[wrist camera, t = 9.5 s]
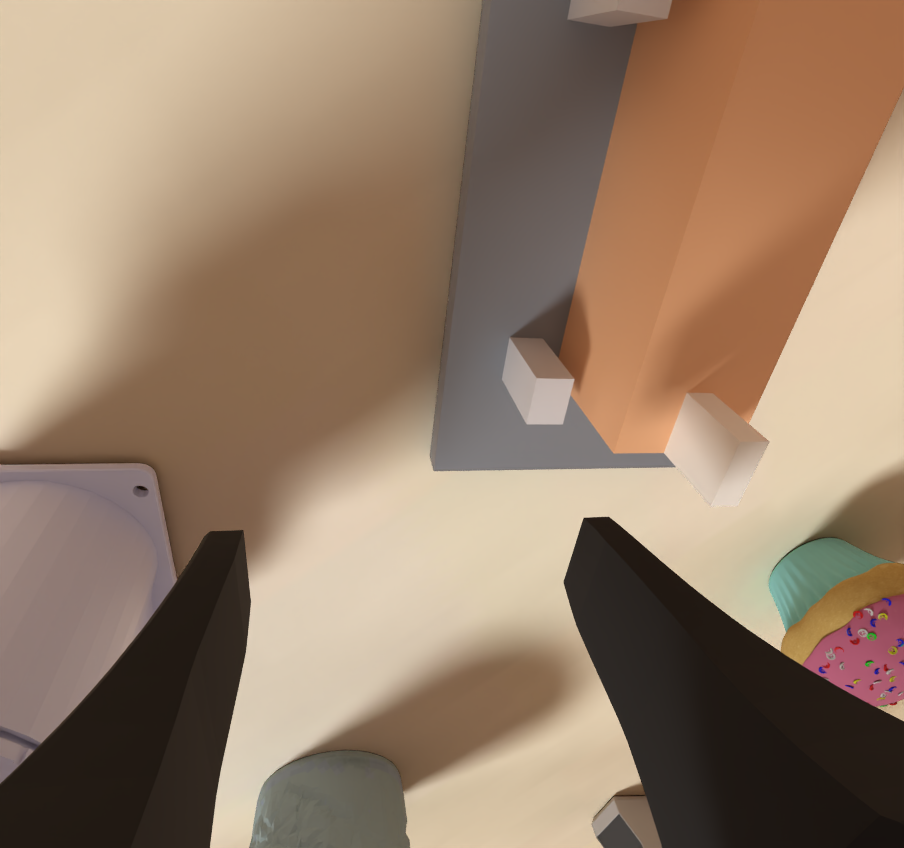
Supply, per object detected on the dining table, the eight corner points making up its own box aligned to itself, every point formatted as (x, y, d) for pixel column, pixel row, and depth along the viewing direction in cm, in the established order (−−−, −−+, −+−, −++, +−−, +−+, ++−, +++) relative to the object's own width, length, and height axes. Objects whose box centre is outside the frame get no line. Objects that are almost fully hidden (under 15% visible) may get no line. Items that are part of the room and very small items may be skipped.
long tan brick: (654, 375, 21) (790, 504, 15) (554, 373, 20) (654, 508, 14) (794, -33, 15) (1127, -104, 9) (657, -61, 14) (918, -163, 8)
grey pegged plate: (696, 453, 25) (752, 512, 21) (429, 456, 22) (446, 524, 19) (961, -182, 14) (1149, -257, 11) (518, -315, 12) (592, -464, 9)
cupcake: (900, 550, 32) (1159, 770, 22) (777, 636, 34) (958, 868, 24) (840, 485, 28) (1124, 719, 18) (704, 588, 30) (887, 842, 20)
